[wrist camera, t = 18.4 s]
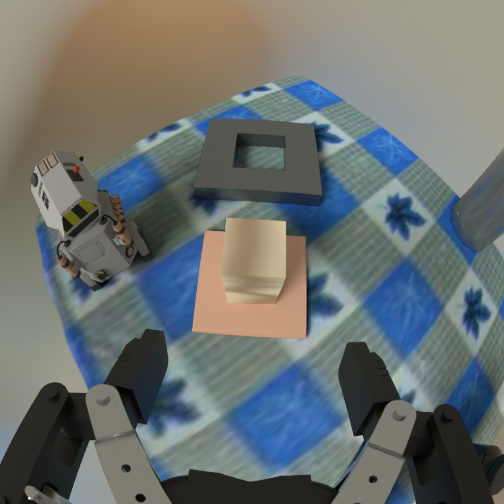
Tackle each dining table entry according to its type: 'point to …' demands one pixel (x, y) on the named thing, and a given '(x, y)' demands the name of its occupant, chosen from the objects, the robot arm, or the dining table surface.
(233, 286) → the beech peg
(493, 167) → the robot arm
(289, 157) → the socket block
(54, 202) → the figurine
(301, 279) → the terracotta tile
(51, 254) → the dining table surface
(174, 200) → the dining table surface
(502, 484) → the supplement bottle
